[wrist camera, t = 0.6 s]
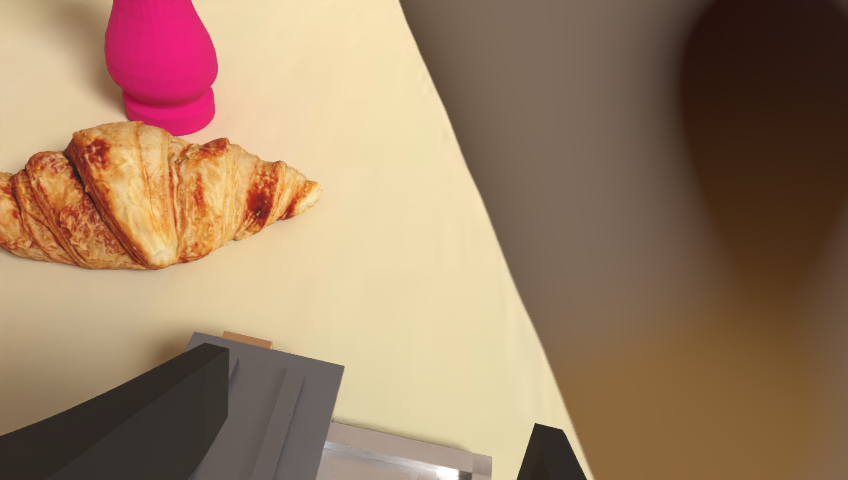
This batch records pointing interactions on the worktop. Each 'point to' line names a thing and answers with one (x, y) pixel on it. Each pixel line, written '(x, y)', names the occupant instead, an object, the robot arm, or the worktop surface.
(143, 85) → the pepper mill
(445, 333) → the worktop surface
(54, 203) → the croissant
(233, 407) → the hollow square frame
